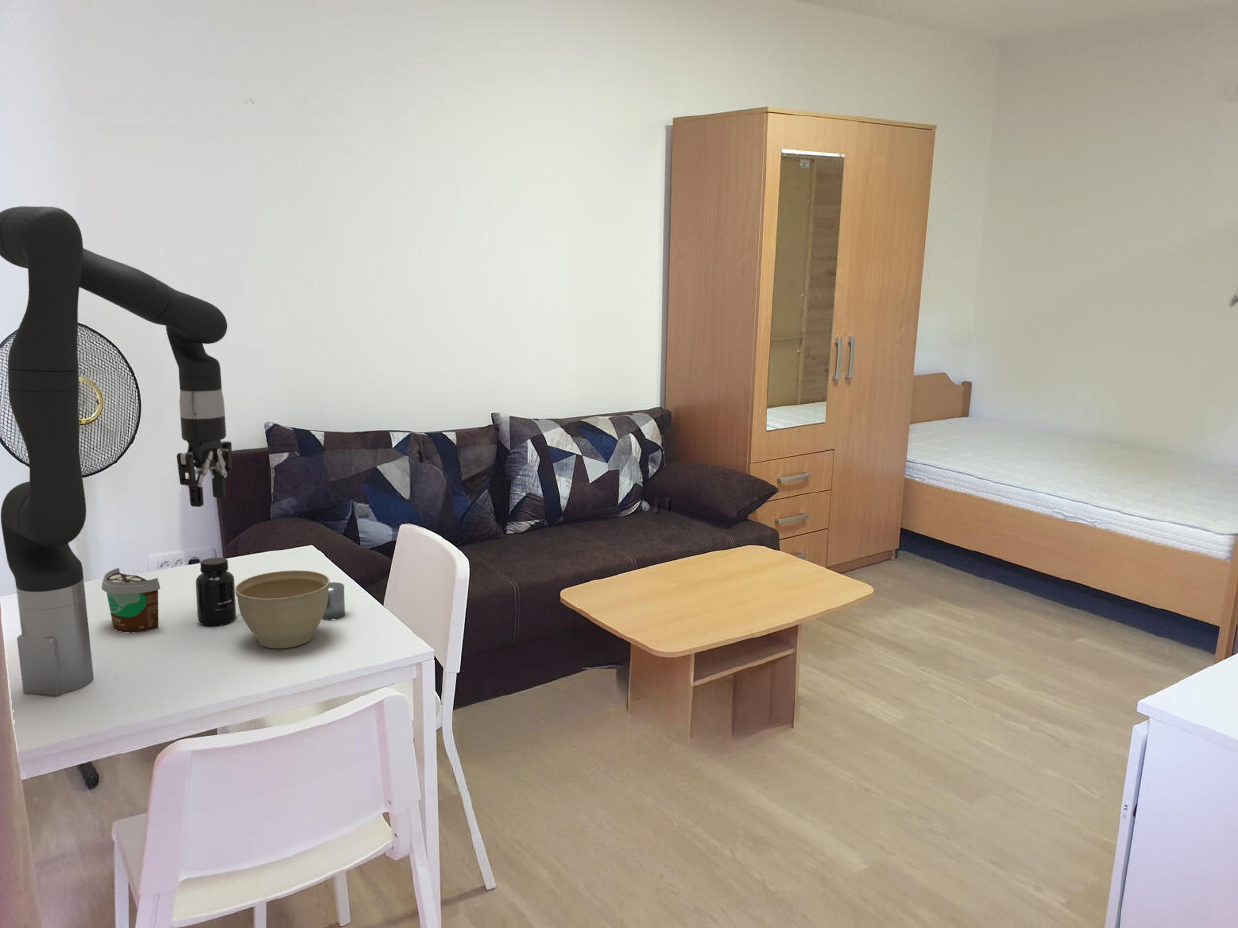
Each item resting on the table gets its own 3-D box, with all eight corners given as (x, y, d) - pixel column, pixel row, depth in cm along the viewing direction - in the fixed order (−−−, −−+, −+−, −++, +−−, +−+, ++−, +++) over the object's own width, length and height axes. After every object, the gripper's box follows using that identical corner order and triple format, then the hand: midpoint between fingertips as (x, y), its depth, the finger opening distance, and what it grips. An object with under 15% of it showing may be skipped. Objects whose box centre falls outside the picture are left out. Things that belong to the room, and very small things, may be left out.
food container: (91, 626, 175) (85, 576, 173) (121, 616, 180) (116, 567, 178) (133, 640, 169) (128, 588, 167) (163, 629, 174) (159, 578, 172)
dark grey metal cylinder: (338, 621, 180) (336, 591, 179) (313, 619, 181) (312, 589, 180) (349, 611, 185) (348, 583, 184) (325, 610, 186) (324, 581, 185)
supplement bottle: (227, 627, 176) (223, 567, 173) (191, 626, 176) (187, 565, 174) (242, 614, 183) (238, 555, 180) (208, 613, 183) (203, 554, 180)
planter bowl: (348, 628, 177) (346, 574, 174) (298, 662, 161) (295, 603, 159) (275, 618, 181) (272, 565, 179) (219, 650, 166) (215, 592, 163)
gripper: (198, 420, 164) (204, 512, 167) (242, 409, 177) (247, 493, 181) (159, 418, 165) (166, 509, 168) (206, 407, 179) (212, 491, 182)
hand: (208, 501), depth 174 cm, fingers open, 6 cm apart
